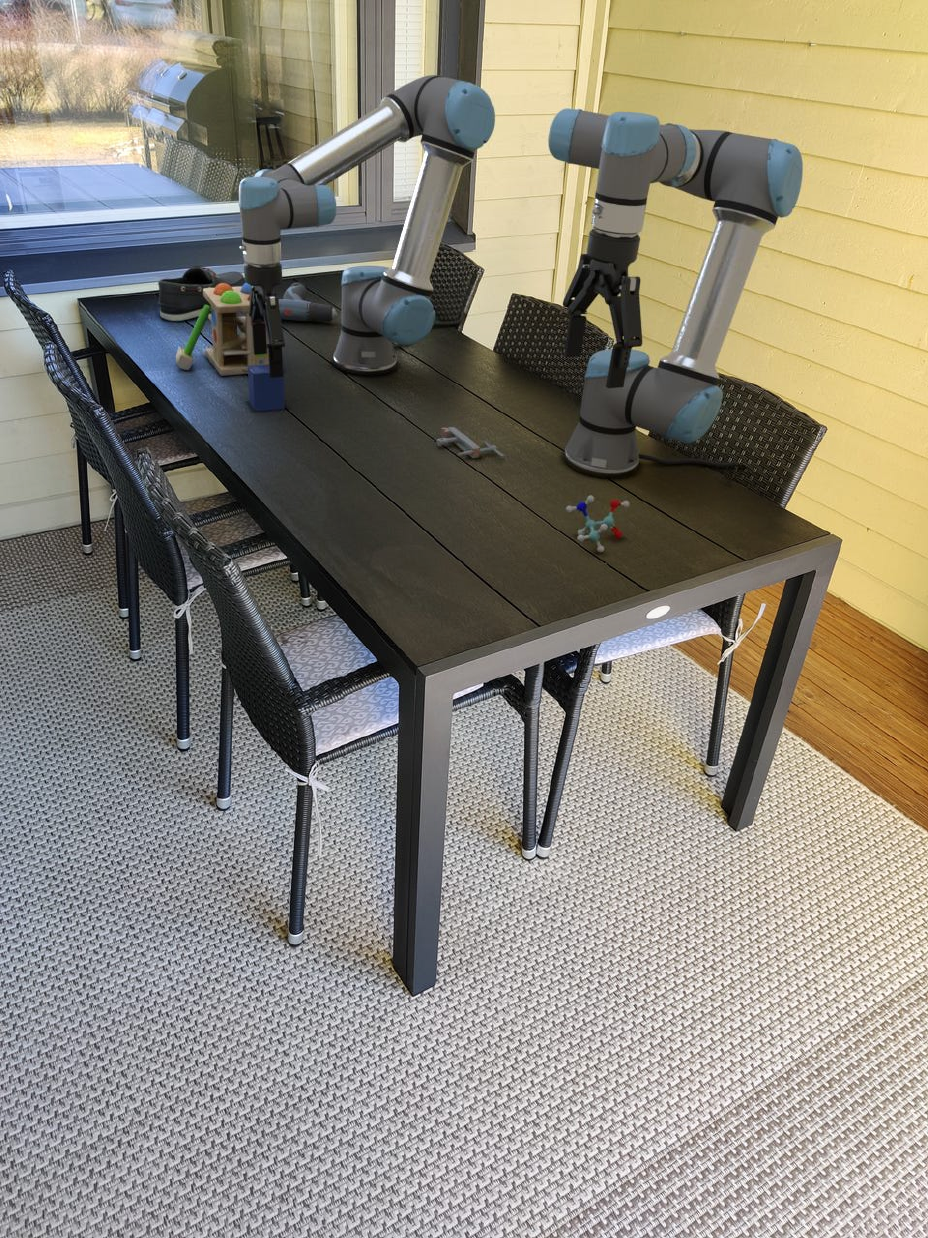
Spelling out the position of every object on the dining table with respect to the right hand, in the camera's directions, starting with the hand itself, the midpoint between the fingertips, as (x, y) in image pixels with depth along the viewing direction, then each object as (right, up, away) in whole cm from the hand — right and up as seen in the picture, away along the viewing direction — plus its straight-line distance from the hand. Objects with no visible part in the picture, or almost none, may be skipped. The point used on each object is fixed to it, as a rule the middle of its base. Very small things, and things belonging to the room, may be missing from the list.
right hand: (592, 371), depth 156 cm
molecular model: (+2, -25, +20) cm, 32 cm away
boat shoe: (-90, +45, +110) cm, 149 cm away
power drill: (-64, +44, +112) cm, 136 cm away
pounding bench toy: (-77, +20, +75) cm, 109 cm away
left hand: (-62, +15, +52) cm, 82 cm away
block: (-63, +7, +57) cm, 85 cm away
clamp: (-20, -5, +46) cm, 51 cm away
